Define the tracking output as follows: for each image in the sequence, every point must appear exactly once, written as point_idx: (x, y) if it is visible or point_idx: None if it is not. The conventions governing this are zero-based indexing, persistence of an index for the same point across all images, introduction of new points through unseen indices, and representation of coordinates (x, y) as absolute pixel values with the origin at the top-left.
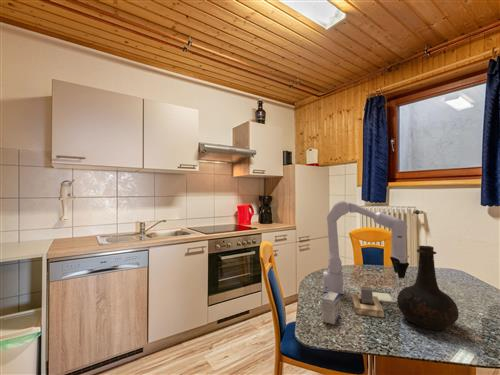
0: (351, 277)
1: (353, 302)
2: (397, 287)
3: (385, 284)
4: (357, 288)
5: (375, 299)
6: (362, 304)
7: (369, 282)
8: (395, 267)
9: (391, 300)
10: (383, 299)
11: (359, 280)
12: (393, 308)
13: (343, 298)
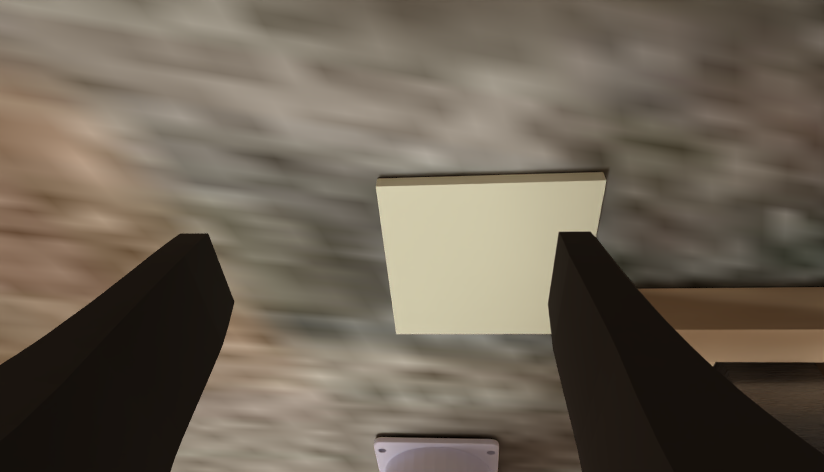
0: None
1: None
2: (20, 36)
3: (18, 157)
4: (322, 370)
5: (704, 346)
6: None
7: (83, 285)
8: (182, 387)
9: (576, 190)
10: None
11: None
12: (745, 190)
13: (574, 442)
